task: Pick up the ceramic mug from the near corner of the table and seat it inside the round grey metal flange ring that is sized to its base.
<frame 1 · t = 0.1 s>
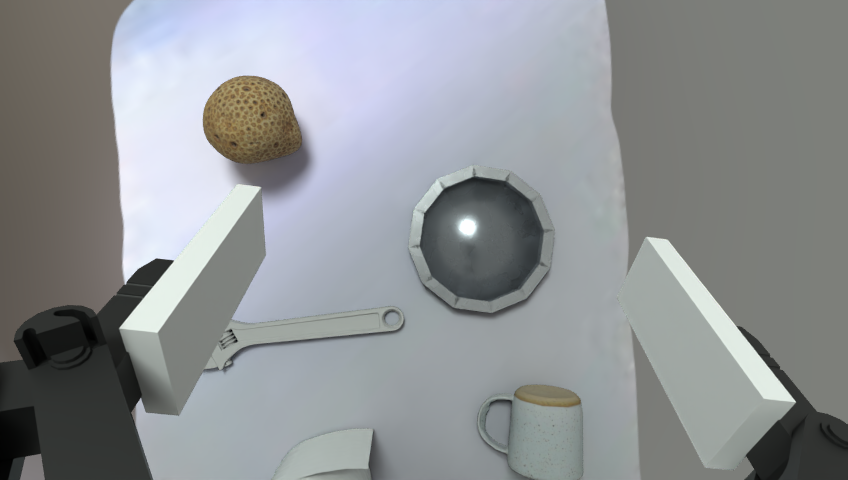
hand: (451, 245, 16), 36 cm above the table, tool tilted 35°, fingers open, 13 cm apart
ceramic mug: (522, 419, 52), on the table
natural sponge: (267, 134, 51), on the table
flange seat: (479, 239, 52), on the table
toilet tissue: (324, 477, 50), on the table
adjustable wrench: (290, 334, 51), on the table
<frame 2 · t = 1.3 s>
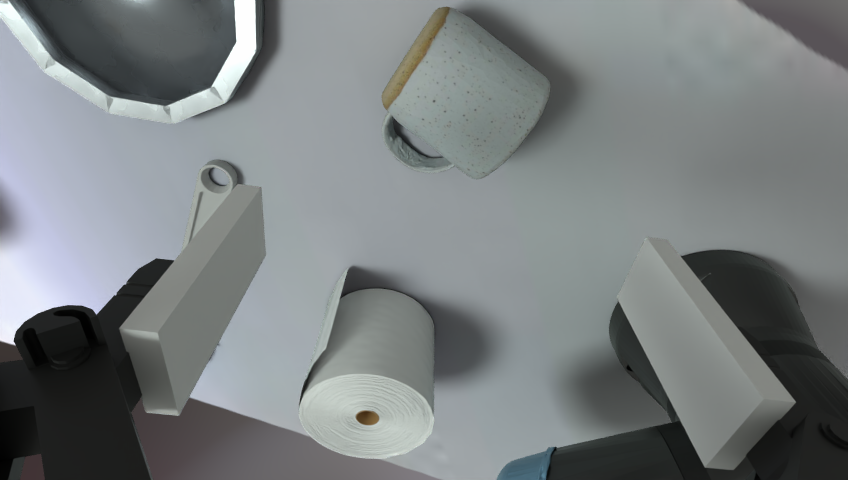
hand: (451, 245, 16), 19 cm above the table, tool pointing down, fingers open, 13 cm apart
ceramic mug: (450, 97, 32), on the table
toilet tissue: (374, 325, 44), on the table
adjustable wrench: (203, 278, 42), on the table
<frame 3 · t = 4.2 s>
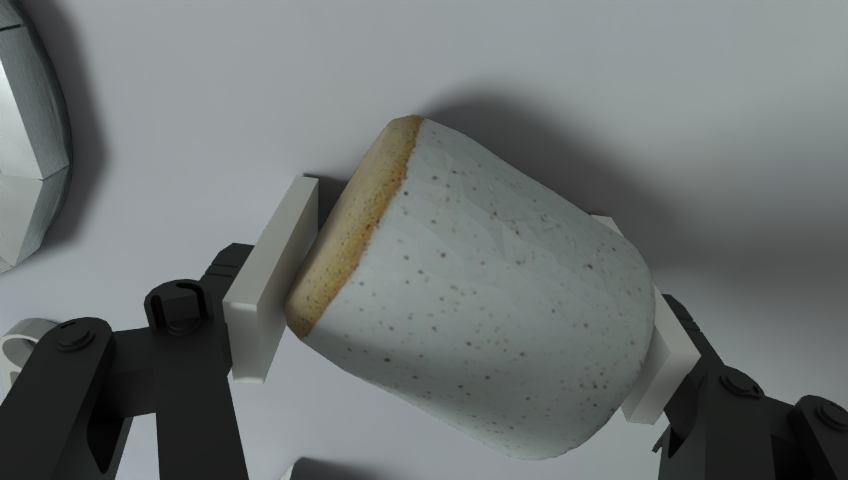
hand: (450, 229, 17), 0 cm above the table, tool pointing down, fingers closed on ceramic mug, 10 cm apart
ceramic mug: (437, 244, 17), on the table, touching gripper
adjustable wrench: (71, 461, 27), on the table
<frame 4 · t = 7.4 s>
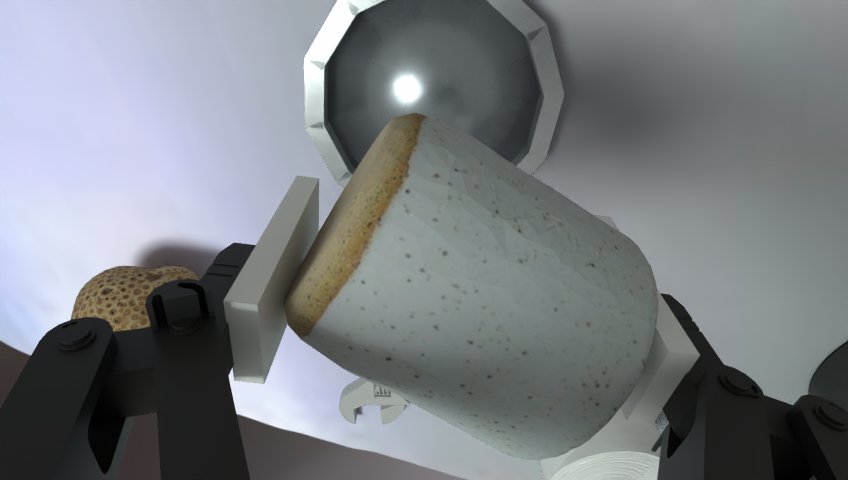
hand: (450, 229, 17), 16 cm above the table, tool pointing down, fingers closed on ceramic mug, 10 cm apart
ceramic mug: (438, 242, 17), point 16 cm above the table, touching gripper
natural sponge: (174, 278, 39), on the table
flange seat: (431, 103, 30), on the table
toilet tissue: (573, 385, 45), on the table
adjustable wrench: (410, 336, 43), on the table
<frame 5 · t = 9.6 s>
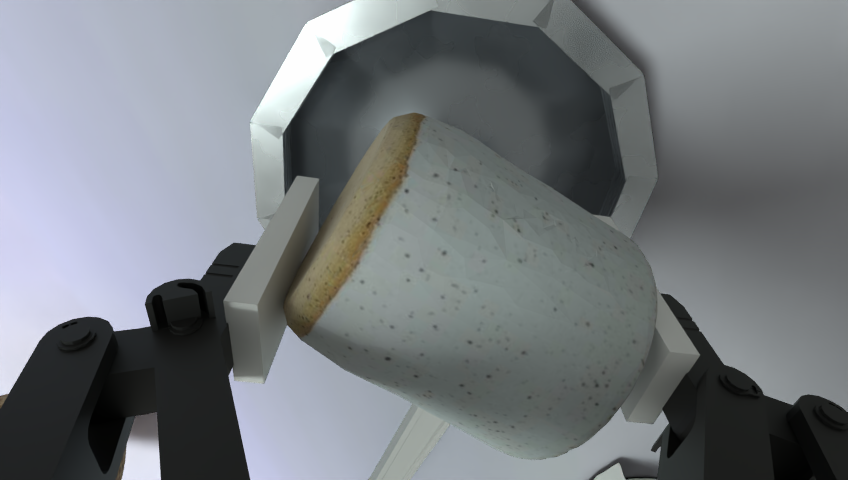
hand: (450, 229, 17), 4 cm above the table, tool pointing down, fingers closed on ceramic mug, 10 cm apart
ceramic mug: (438, 242, 17), point 4 cm above the table, touching gripper
flange seat: (449, 180, 20), on the table
adjustable wrench: (409, 449, 32), on the table
when the fingers open (3 cm above the table, at t = 10.9 s): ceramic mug drops 2 cm, resting on flange seat.
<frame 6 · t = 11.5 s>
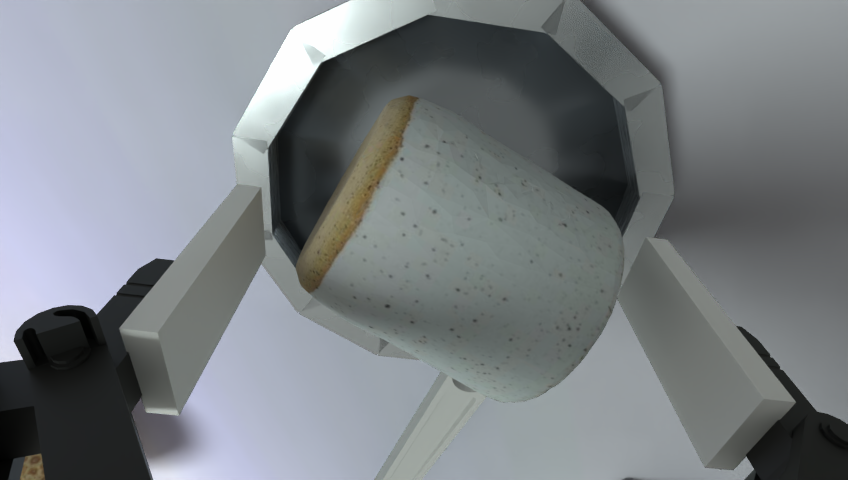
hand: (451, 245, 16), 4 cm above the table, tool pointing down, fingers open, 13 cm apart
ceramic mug: (434, 219, 19), resting on flange seat
natural sponge: (75, 411, 28), on the table
flange seat: (448, 195, 19), on the table
adjustable wrench: (406, 465, 31), on the table
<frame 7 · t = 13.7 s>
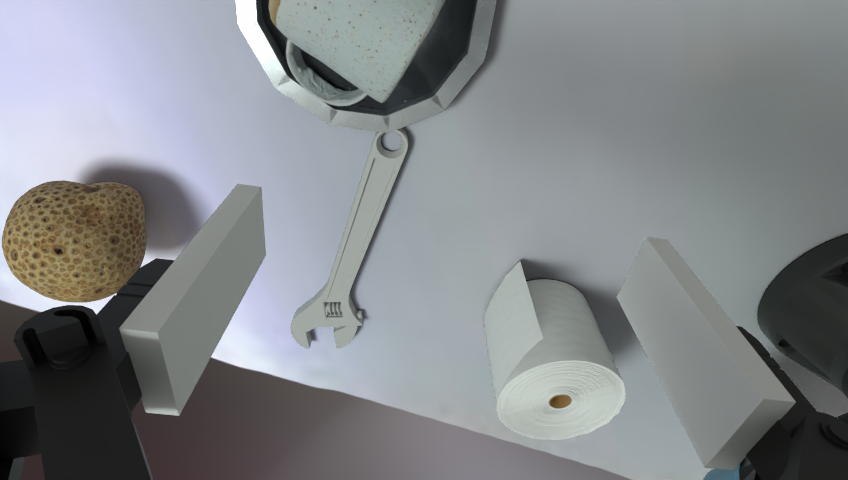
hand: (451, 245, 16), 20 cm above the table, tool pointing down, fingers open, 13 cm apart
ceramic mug: (359, 22, 30), resting on flange seat
natural sponge: (119, 203, 38), on the table
flange seat: (368, 2, 30), on the table
toilet tissue: (530, 314, 46), on the table
adjustable wrench: (358, 251, 42), on the table
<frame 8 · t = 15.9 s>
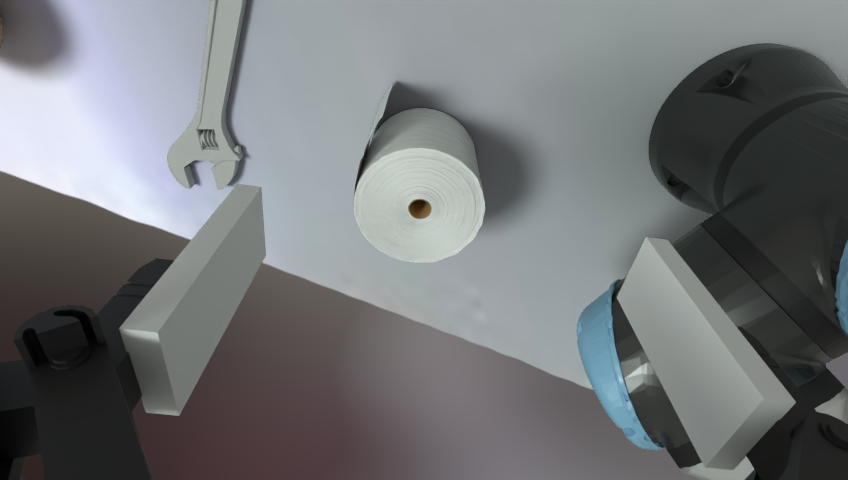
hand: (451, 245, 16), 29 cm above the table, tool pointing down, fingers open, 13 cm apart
toilet tissue: (416, 155, 45), on the table
adjustable wrench: (230, 72, 41), on the table
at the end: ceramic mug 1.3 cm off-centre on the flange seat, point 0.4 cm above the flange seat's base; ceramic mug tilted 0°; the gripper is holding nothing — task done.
